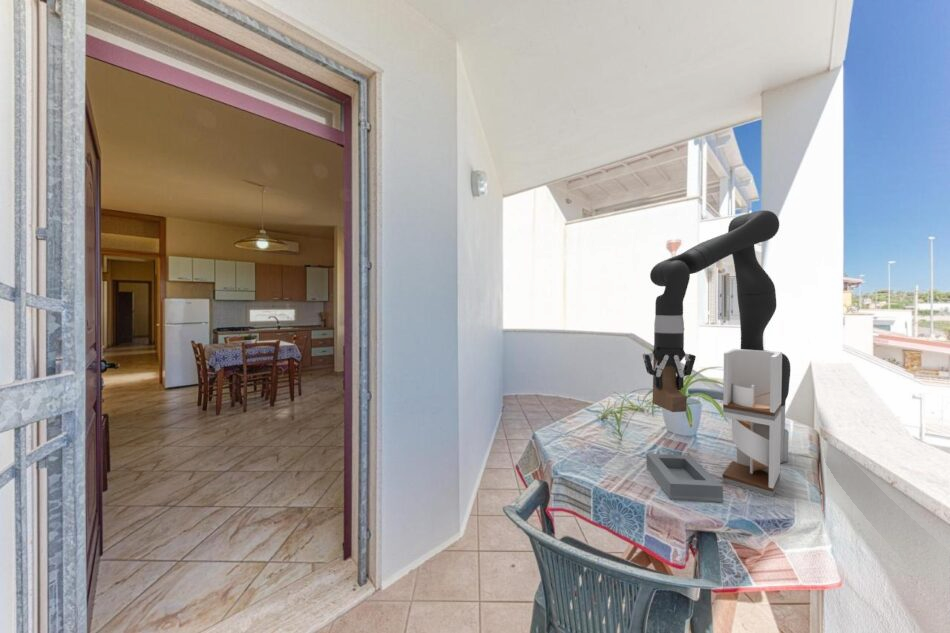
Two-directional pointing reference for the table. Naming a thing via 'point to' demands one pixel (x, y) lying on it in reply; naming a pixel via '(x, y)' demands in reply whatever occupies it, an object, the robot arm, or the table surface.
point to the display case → (754, 417)
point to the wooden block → (668, 391)
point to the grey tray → (684, 478)
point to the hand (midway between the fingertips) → (668, 389)
